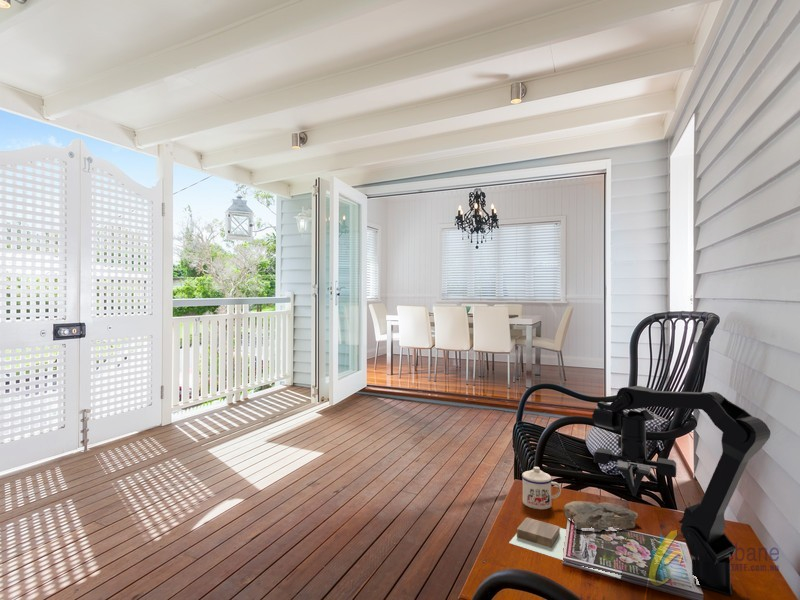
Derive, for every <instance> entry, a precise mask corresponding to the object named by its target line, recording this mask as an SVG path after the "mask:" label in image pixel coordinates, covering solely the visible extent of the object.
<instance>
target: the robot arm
mask: <svg viewBox="0 0 800 600" xmlns="http://www.w3.org/2000/svg"><path fill="white" fill-rule="evenodd" d="M653 407H658V408H673V409H686V410H702V411H703V412H704V413H706V415H707V416H708V418H709V420H711V422H712V423H713V424H714V426H715V427H716V428H717V429H719V430H720V431H721V432H722V434H721V435H722V436H721V449H722V452H721V455H720V458H719V460H718V462H717V464H716V467H715V469H714V471H713V473H712V475H711V478H710V481H709V483H708V485H707V487H706V489H705V492H704V494H703V496H702V499H701V501H700V502H698V503H696V504H693V505H690V506H686V507H685V509H684V511H683V515H682V516H683V517H682V518H681V520H679V521H678V523H679V524H681V525H680V533H681V534H682V536H683V538H684V540H685V543H686V545H687V548H688V550H689V554H690V555H691V573H692V574H691V575H694V576H696V577H697V579H698V581H699V584H700V586H701V588H704V589H707V590H710V591H714V592H717V593H720V594H724V595H726V596H727V595H728V596H732V595H733V592H732V584H731V560H730V557H731V556H734V553H735V552H736V550H737V548H736V546H735V545H734V543H733V542H732V541H731V540H730V538H729V537H728V536H727V534H726V533H725V528H726V520H725V512H726V510H727V508H728V507H729V504H730V501H731V499H732V497H733V495H734V493H735V491H736V488H737V486H738V484H739V482H740V479H741V477H742V475H743V474H744V472H745V469H746V468H747V464H748V463H749V461H750V459H752V458H753V457H754V456H756V454H757V453H759V451H760V450H761V449H762V448H763V447H764V446H765V445H766V443H767V442H768V441H769V439H770V436H771V430H770V429H769V427H768V425H767V423H765V421H763V420H762V419H760V418H759V417H756V416H753V415H752V414H750V413H749V412H747V411H746V410H745V409H744V408H742V407H740V406H739V405H737V404H735V403H733V402H731V401H730V400H728V399H727V398H726V397H724V396H723V395H722V394H721V393H719V392H717V391H708V392H704V391H703V392H700V391H669V390H668V391H666V390H657V389H653V388H650V387H645V386H641V385H635V386H633V385H632V386H627V387H625V386H624V387H620V388H618V391H617V394H616V397H615V398H614V399H613V401H612V402H611V403H608V402H605V401H598V402H597V403H596V407H594V409H593V413H592V415H591V418H592V422H593V424H594V425H595V426H597V427H602V428H605V429H609V430H613V431H619V430H620V432H621V433H620V434H621V435H620V436H618V440H617V448H618V449H620V450H621V454H615V453H613V452H614V451H613V450H612V449H609V448H601V447H597V448H596V450H595V451H594V452H593V463H595V464H599V465H606V466H607V464H610V462H613V463H614V462H615V463H616V464H617V466H616V467H617V468H616V469H617V471H620V472H621V473H622V475H623V476H624V479H625V481H626V483H627V485H628V488H629V490H630V493H631V495H632V496H637V493H638V491H639V488H640V485H641V483H642V481H643V479H644V477H645V476H647V477H648V476H650V474H651V469H652V470H656V472H657V473H658V474H659V475H660V476H665V477H669V478H677V472H678V471H677V469H678V468H677V462H676V461H675V460H674V459H669V458H664V457H658V459H657V461H656V460H650V459H648V447H647V436H646V435H647V431H646V430H647V429H646V426H647V424H646V423H647V422H649V421H654V420H655V417H654V416H653V415H652V414H651V413H649V411H648V409H647V408H653ZM645 408H646V409H645ZM637 409H638V410H639V409H644V410H640V411H638V410H637ZM626 410H627V412H626ZM628 410H629V411H628ZM633 466H636V467H637V468H636V470H635V477H634V476H633V475H634V473H633ZM700 586H699V587H700Z"/></svg>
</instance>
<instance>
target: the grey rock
mask: <svg viewBox="0 0 800 600" xmlns="http://www.w3.org/2000/svg"><path fill="white" fill-rule="evenodd" d="M563 508H564V509H563V510H564V515H565V517H566V518H567V520H568V518H570V519H573V521H574V523H575V526H578V527H581V528H591V527H592V528H595V527H596V528H601V527H613V528H619V529H624V530H627V529H634V528H635V527H636V523H635V520H636V519H637V518H638V516H639V513H637V512H636V511H634V510H631V509H629V508H627V507H624V506H622V505H620V504H616V503H612V502H606V501H604V502H603V501H602V502H598V503H595V502H592V501H583V500H575V501H574V500H573V501H570V502H567V503H566V504H565V505H564V506H563Z"/></svg>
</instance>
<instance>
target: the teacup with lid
mask: <svg viewBox="0 0 800 600" xmlns="http://www.w3.org/2000/svg"><path fill="white" fill-rule="evenodd" d="M521 478H522V503H523V505H524V506H526V507H529V508H531V509H534V510H547V509H550V508H552V499H557V498H559V496H560V495H561V492H562V486H561V485H560V483H558V482H556V481H553V479H552V477H551V475H550V474H549V473H546V472H544V471H543V470H541V469H540V467H539V466H534V467H533V468H532V469H531V470H526V471H524V472H522V474H521ZM552 485H553V486H557V489H558V490H557V492H556V493H555V494H552Z"/></svg>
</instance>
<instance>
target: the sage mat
mask: <svg viewBox="0 0 800 600" xmlns="http://www.w3.org/2000/svg"><path fill="white" fill-rule="evenodd" d="M566 530H567V528H566V529H565V528H563V527H560V535H559V537H558V538H557V540H556V542H555V543H554V545H553V546H552V548H550V547H547V546H544V545H541V544H537V543H534V542H531V541H528V540H524V539H521V538H518V537H517V532H516V533H515V535H514V536H513V537H512V538H511V539H510V541H509V542H508V544H511V545H514V546H517V547H520V548H524V549H525V550H526V549H527V550H530V551H533V552H535V553H539V554H542V555H545V556H547V557H548V556H549V557H552V558H553V559H556V560H561V561H564V560H563V548H564V542H565V536H566ZM564 562H565V561H564ZM581 567H583V568H586V569H589V570H592V571H595V572H599V573H602V574H604V575H608V576H610V577H614V578H617V579H621V578H622V575H618V574H615V573H610V572H605V571H602V570H598V569H593V568H588V567H584V566H581Z"/></svg>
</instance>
